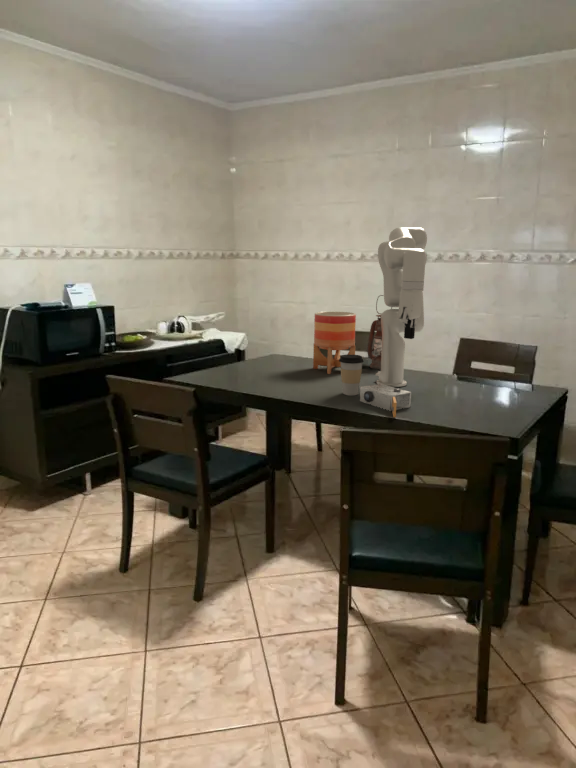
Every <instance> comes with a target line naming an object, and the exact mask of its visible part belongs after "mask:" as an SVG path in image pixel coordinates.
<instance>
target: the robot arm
mask: <svg viewBox="0 0 576 768" xmlns="http://www.w3.org/2000/svg"><path fill="white" fill-rule="evenodd" d="M427 235H428V234H427V232H426V230H425V229H424V228H422V227H413V226H412V227H410V226H409V227H407V226H405V227H395V228H394V229H392V231H391V232H390V233H389V235H388V240H386V241H382V242H381V243H380V244H379V245H378V248H377V259H378V264H379V267H380V270H381V273H382V276H383V295H384V296H383V300H384V304H385V306H387V307H390V309H386V310H384V311H383V312H382V313H381V314H382V315H381V314H380V315H381V317H380V318H381V327H382V339H381V341H382V355H381V369H380V371H379V370H378V371H377V372H376V373H375V376H376V377H378V379H377V380H376V384H383V385H387V386H390V387H394V388H399V387H400V388H401V387H406V386H407V381H406V380H405V379H404V372H405V371H404V370H405V368H404V367H405V351H406V350H405V349H406V343H405V340H404V339H407V340H413V339H415V335H416V333H419V332H422V330H423V329H424V326H425V313H424V312H425V311H424V309H425V308H424V288H425V286H424V285H425V274H426V273H425V271H426V270H425V269H426V264H427V253H426V250H425V249H426V246H427V244H428V243H427V241H428V236H427ZM391 307H392V309H391ZM400 333H403V335H404V336H403V337H404V339H403V337H402V336H401V334H400Z"/></svg>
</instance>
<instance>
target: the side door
mask: <svg viewBox="0 0 576 768" xmlns="http://www.w3.org/2000/svg"><path fill="white" fill-rule="evenodd" d="M396 405H397V402H396V399H395V396H392V417H393V418H397V410H396Z"/></svg>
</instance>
